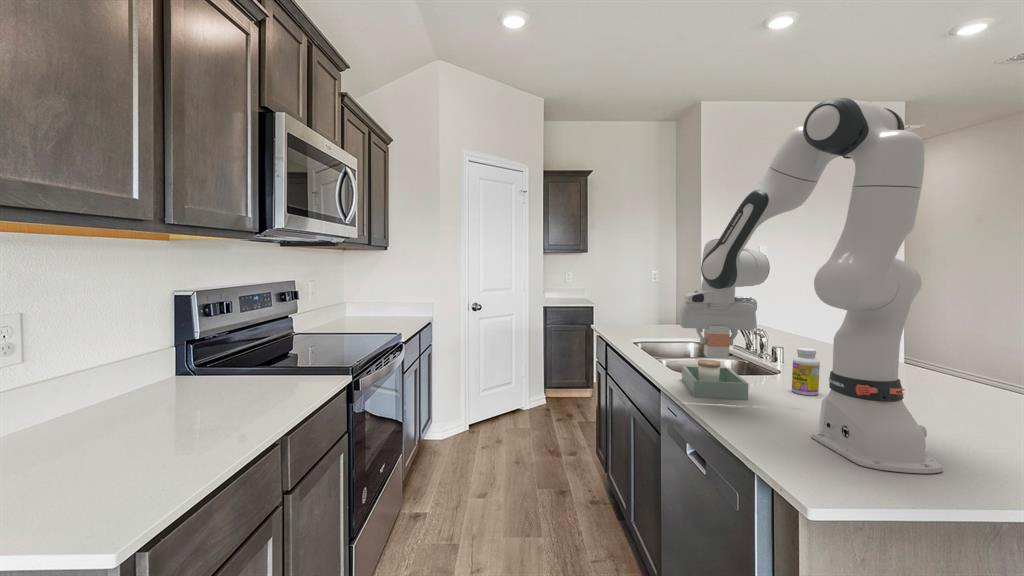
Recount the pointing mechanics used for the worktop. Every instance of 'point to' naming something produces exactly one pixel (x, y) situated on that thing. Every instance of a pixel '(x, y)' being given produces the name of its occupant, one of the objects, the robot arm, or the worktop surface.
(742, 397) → the tray
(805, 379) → the supplement bottle
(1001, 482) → the worktop surface
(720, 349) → the tea tin
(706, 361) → the ceramic jar
